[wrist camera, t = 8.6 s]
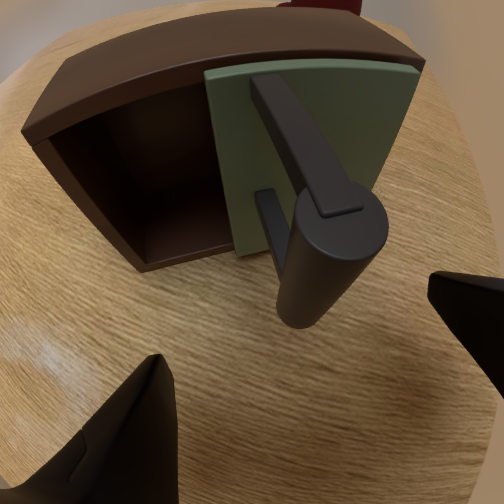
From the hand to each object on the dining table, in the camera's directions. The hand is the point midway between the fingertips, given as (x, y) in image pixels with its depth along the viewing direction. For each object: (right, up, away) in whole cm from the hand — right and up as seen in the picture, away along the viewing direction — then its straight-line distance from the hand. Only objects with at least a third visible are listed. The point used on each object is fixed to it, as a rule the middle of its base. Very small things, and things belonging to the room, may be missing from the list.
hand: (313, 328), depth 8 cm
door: (+1, +1, +7) cm, 7 cm away
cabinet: (-3, +5, +10) cm, 12 cm away
